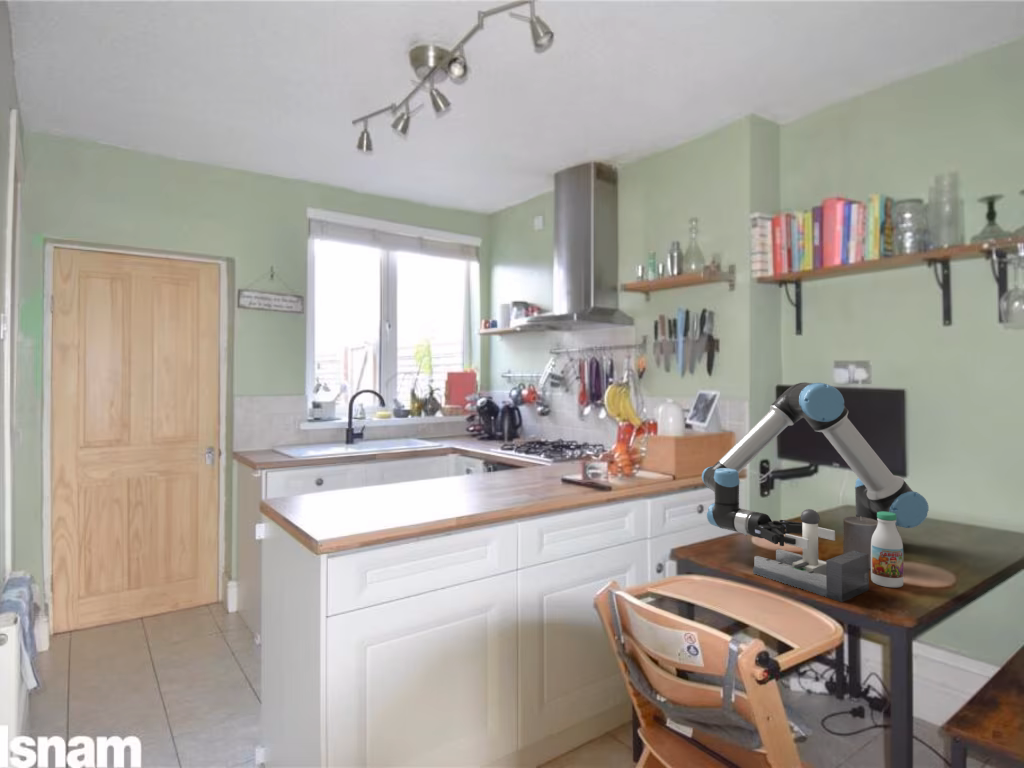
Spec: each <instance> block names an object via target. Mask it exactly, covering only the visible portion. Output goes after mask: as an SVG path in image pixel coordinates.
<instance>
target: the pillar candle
mask: <svg viewBox="0 0 1024 768" xmlns="http://www.w3.org/2000/svg"><path fill="white" fill-rule="evenodd" d="M877 525H878V521H877V520H874V519H870V518H866V517H861V516H860V517H856V516H846V517H843V539H842V540H843V543H842V544H843V545H842V546H843V547H842V548H843V551H842V552H843V553H842V554H845V553H848V552H850V551H853V550H854V551H858V552H862V553H867V554H869V570H871V539H872V536H873V533H874V531H875V530H876V528H877Z"/></svg>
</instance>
